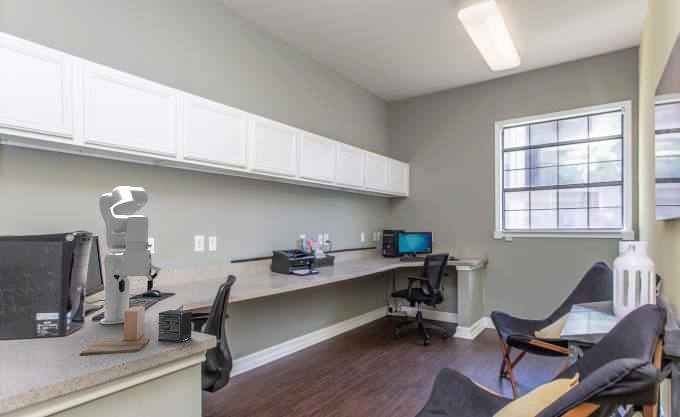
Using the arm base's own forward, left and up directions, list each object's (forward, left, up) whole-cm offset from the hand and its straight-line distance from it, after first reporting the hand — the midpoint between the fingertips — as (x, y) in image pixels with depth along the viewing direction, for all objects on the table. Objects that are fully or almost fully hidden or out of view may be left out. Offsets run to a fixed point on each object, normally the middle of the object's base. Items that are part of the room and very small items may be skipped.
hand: (135, 291), depth 142 cm
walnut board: (+12, -2, -18) cm, 21 cm away
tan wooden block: (0, 0, -18) cm, 18 cm away
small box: (+6, +16, -18) cm, 25 cm away
